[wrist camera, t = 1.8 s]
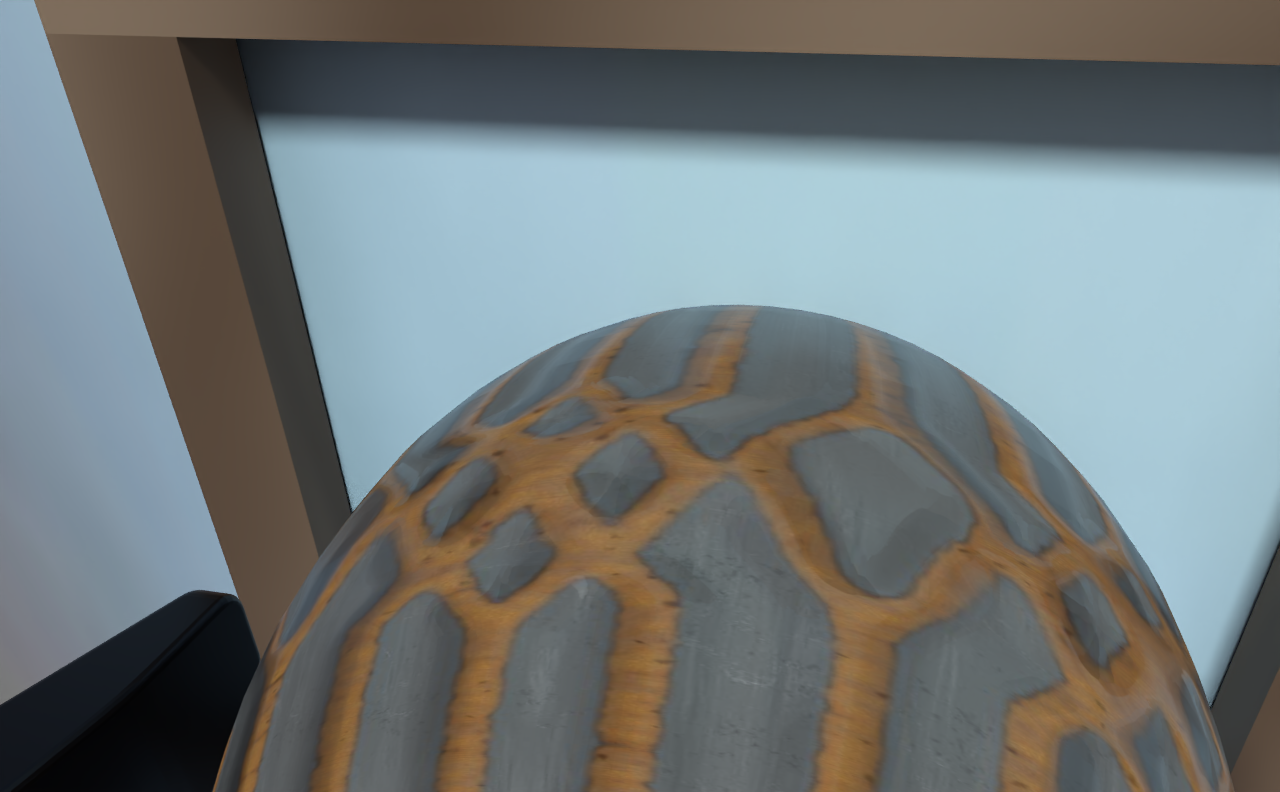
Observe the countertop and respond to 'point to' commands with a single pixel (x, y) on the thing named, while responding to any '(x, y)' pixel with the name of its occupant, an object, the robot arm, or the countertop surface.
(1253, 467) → the countertop surface
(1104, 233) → the countertop surface
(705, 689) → the vase
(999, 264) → the countertop surface
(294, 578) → the rail frame
